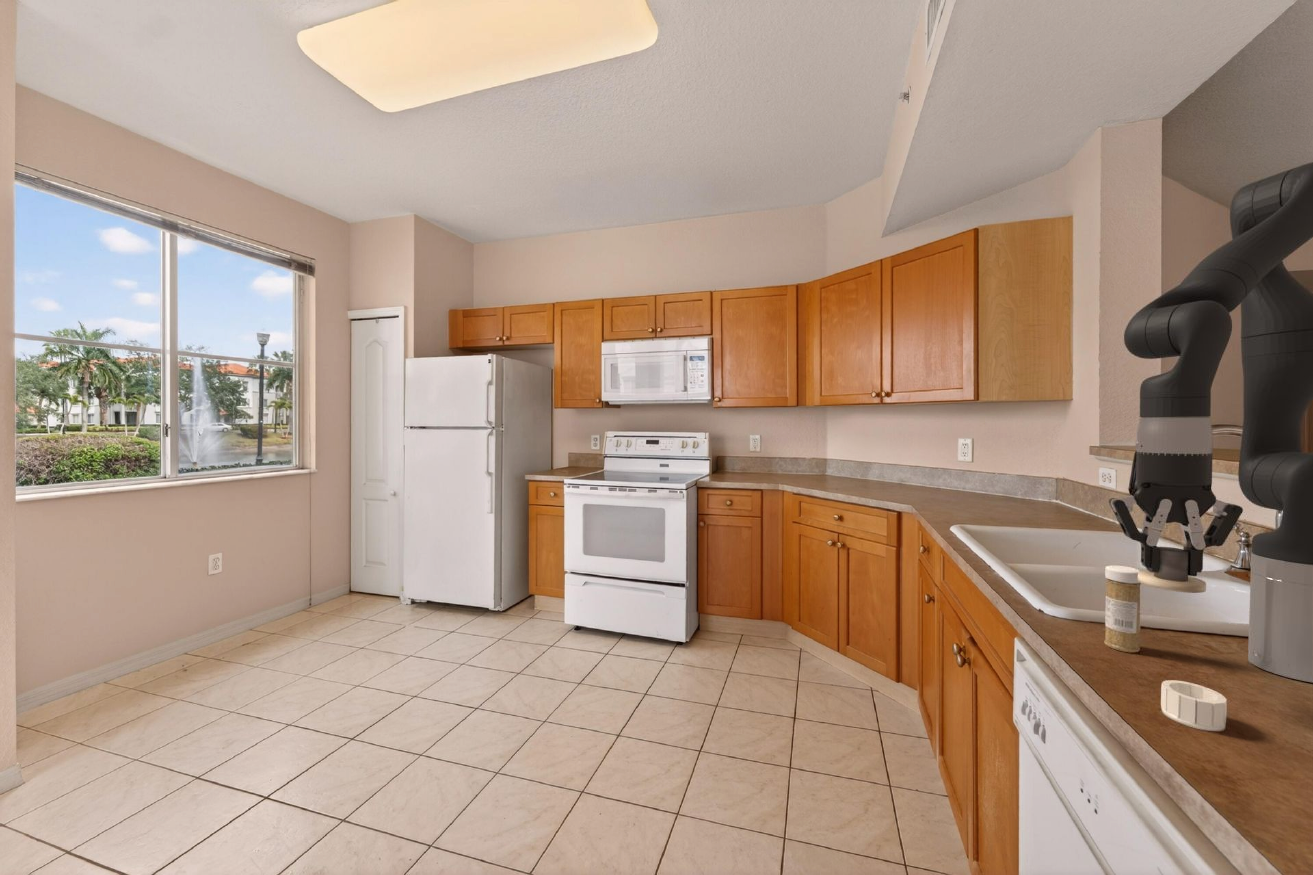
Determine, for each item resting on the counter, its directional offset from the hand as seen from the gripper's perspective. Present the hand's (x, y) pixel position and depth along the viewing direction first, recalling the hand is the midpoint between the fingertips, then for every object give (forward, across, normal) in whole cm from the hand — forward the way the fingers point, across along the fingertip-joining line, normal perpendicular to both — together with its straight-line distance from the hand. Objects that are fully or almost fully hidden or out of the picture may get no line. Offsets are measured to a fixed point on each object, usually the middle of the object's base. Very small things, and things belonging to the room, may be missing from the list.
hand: (1171, 572), depth 73 cm
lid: (+2, 0, 0) cm, 2 cm away
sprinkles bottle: (+17, -1, +15) cm, 23 cm away
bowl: (+17, 0, -8) cm, 19 cm away
